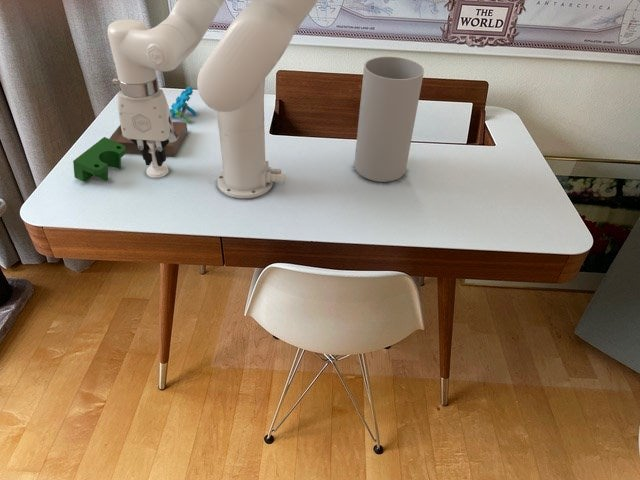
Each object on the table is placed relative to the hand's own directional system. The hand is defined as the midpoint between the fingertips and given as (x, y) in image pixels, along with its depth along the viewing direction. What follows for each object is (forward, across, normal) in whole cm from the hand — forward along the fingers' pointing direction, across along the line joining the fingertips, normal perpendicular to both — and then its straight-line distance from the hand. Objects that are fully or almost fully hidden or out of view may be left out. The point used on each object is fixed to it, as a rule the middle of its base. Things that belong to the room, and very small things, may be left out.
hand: (155, 162), depth 112 cm
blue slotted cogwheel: (+3, -2, +28) cm, 28 cm away
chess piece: (+3, 0, 0) cm, 3 cm away
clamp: (+3, -12, -2) cm, 12 cm away
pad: (+3, -6, +13) cm, 15 cm away
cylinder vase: (+3, +52, +8) cm, 53 cm away
